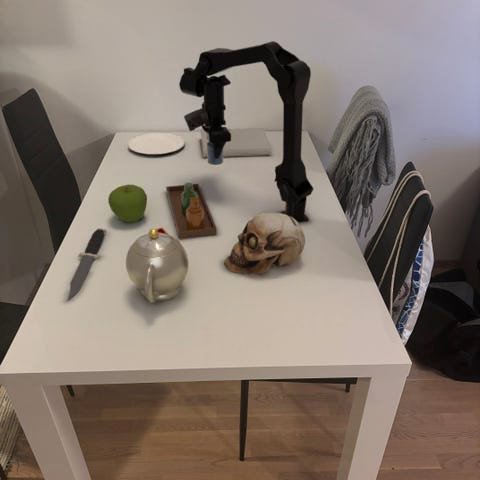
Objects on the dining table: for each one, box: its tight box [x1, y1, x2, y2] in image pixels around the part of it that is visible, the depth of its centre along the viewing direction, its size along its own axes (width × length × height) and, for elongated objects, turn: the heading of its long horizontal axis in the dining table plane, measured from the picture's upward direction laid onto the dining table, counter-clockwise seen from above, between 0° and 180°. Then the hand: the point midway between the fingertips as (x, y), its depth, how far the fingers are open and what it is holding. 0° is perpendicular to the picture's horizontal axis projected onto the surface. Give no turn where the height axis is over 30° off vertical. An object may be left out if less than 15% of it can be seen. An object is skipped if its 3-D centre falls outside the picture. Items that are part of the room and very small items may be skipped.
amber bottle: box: [186, 198, 205, 230], centre depth 128 cm, size 5×5×8 cm
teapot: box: [125, 226, 189, 304], centre depth 104 cm, size 18×14×16 cm
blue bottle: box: [206, 142, 224, 166], centre depth 142 cm, size 5×5×8 cm
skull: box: [223, 212, 306, 276], centre depth 117 cm, size 16×17×13 cm
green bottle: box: [181, 182, 198, 216], centre depth 135 cm, size 5×5×8 cm
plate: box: [127, 132, 186, 156], centre depth 176 cm, size 21×21×2 cm
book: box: [200, 127, 272, 158], centre depth 176 cm, size 18×4×24 cm
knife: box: [67, 227, 108, 301], centre depth 118 cm, size 30×2×5 cm
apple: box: [107, 184, 148, 224], centre depth 132 cm, size 11×10×10 cm
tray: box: [165, 183, 218, 240], centre depth 138 cm, size 28×10×2 cm, turn 14°
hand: (215, 155), depth 143 cm, fingers closed on blue bottle, 5 cm apart
